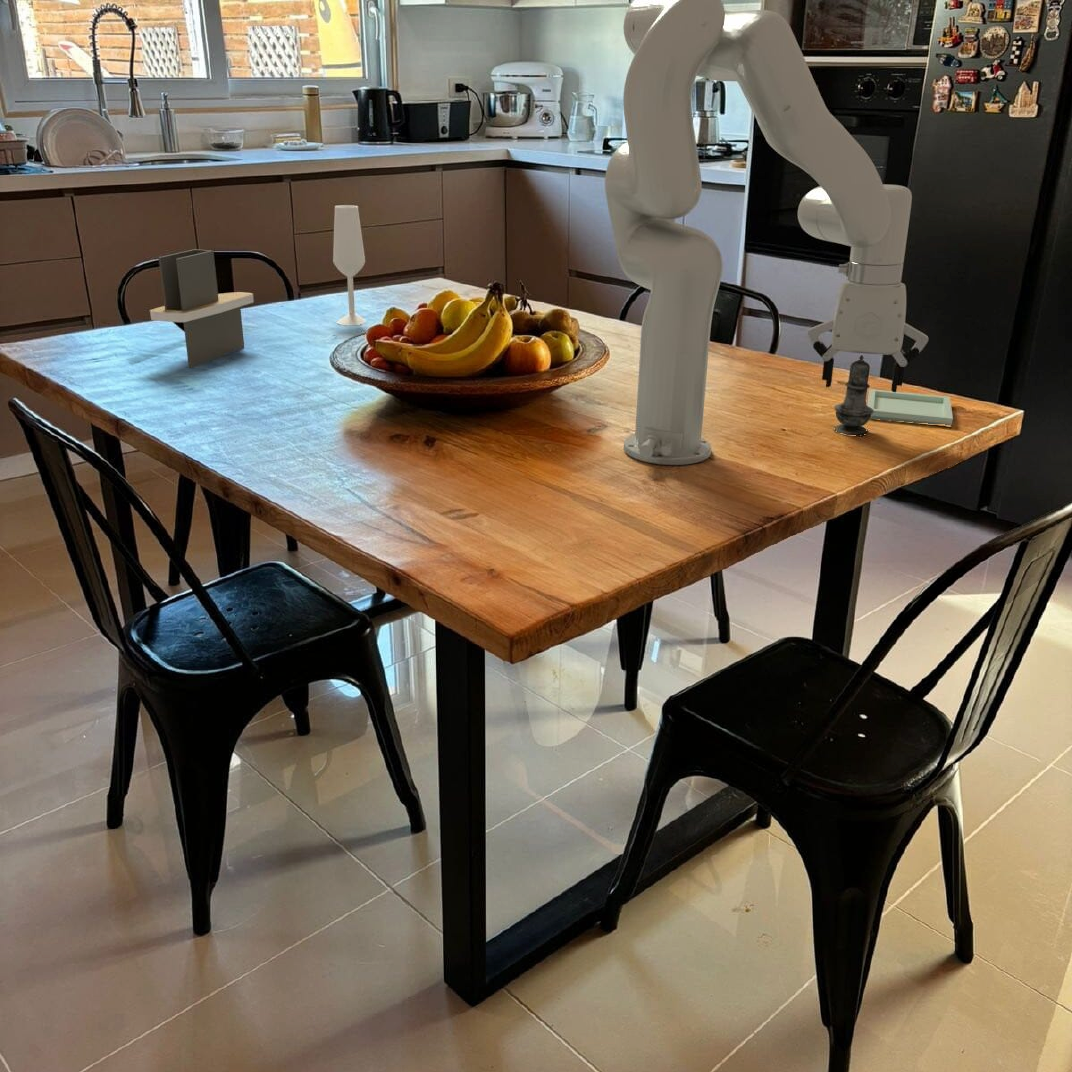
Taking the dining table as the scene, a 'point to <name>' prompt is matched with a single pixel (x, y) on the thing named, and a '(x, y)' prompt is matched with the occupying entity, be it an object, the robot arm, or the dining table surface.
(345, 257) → the champagne flute
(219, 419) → the dining table surface
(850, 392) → the salt shaker
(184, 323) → the architectural model
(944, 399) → the tray
